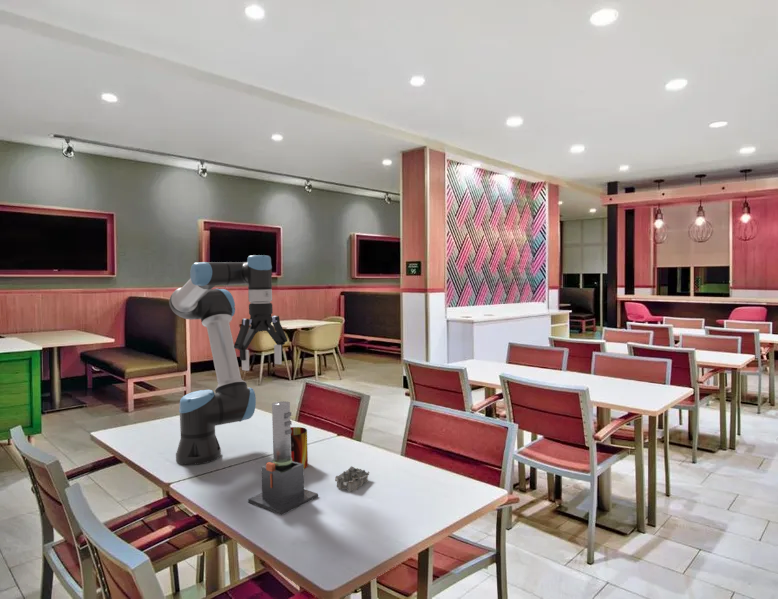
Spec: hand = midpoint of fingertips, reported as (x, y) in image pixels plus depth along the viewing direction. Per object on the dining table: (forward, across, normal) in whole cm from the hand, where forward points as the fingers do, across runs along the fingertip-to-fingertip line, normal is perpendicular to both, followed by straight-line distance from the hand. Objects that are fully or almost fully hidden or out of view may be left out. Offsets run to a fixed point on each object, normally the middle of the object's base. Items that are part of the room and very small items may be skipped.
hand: (262, 367), depth 172 cm
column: (+27, -12, -22) cm, 37 cm away
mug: (+35, +8, -6) cm, 36 cm away
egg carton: (+35, +8, -31) cm, 48 cm away
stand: (+35, -12, -22) cm, 43 cm away
